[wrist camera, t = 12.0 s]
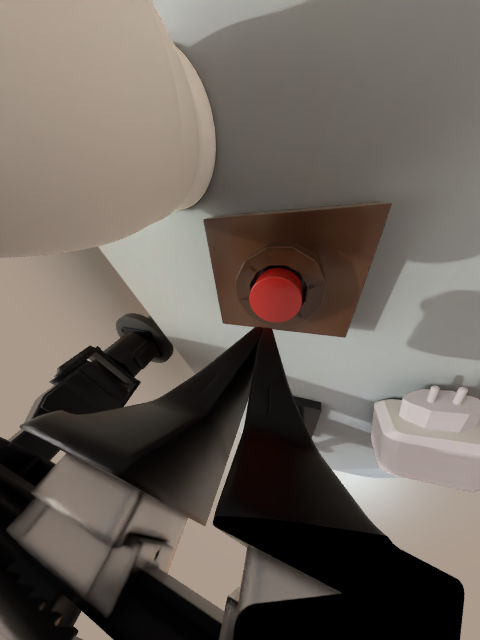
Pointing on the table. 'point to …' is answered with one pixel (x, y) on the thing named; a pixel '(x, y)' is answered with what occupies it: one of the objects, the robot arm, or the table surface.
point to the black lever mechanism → (309, 412)
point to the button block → (297, 261)
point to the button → (276, 295)
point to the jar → (95, 124)
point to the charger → (430, 437)
